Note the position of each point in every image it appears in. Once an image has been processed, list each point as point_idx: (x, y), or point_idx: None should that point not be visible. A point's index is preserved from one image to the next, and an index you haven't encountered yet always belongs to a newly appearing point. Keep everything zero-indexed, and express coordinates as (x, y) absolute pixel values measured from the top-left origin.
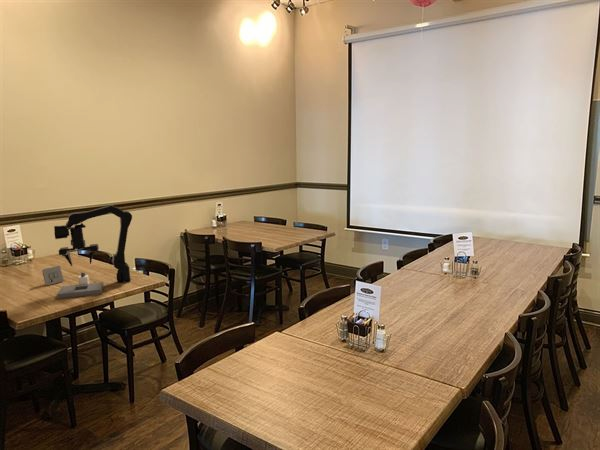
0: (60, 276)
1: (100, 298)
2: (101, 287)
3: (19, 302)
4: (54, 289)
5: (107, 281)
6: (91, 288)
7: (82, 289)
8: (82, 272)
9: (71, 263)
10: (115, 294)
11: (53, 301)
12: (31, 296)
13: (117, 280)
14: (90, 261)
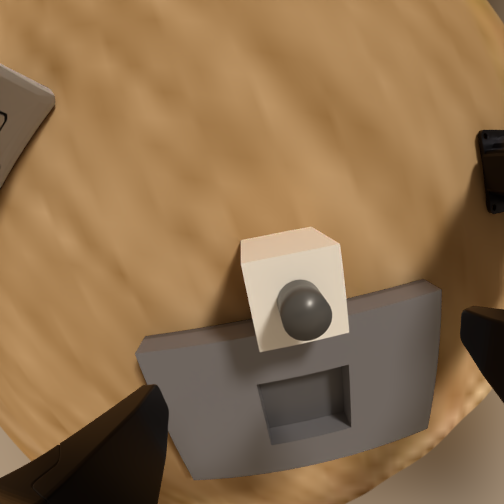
0: (19, 99)
1: (412, 453)
2: (432, 391)
3: (44, 444)
4: (70, 289)
5: (420, 149)
6: (380, 418)
7: (326, 434)
8: (297, 301)
9: (163, 458)
10: (470, 406)
11: (193, 479)
12: (30, 386)
13: (490, 191)
14: (494, 374)
